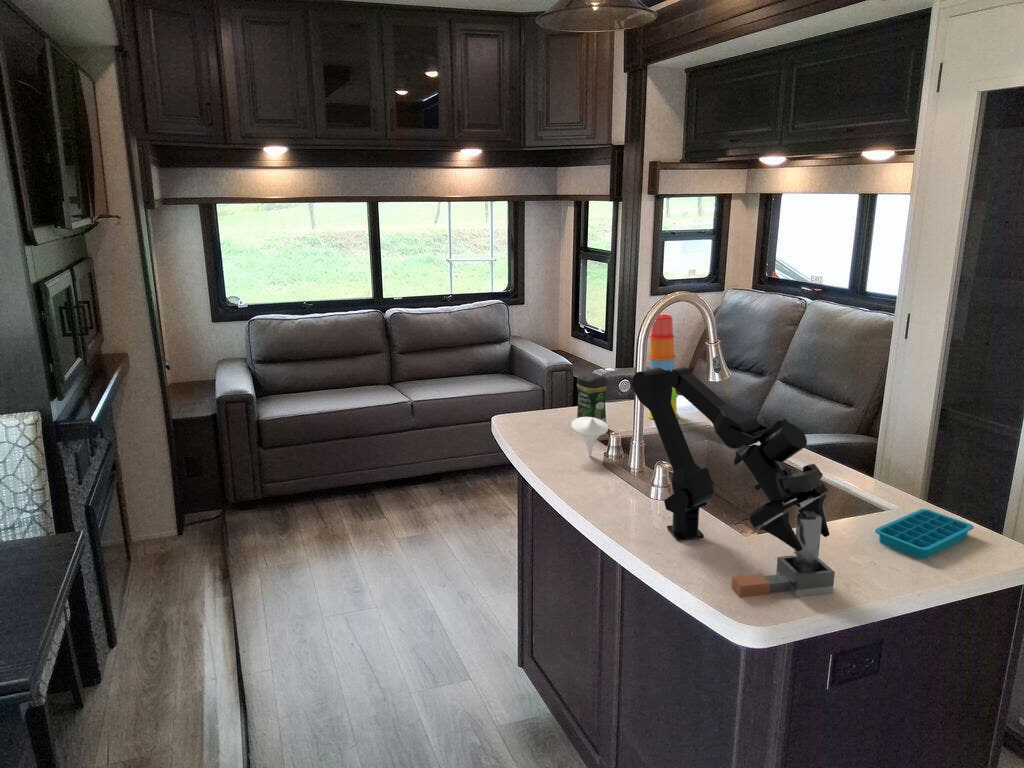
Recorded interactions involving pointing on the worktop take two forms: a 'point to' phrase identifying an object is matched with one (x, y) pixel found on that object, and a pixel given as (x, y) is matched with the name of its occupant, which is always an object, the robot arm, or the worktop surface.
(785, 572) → the saucepan
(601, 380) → the coffee jar
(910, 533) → the ice cube tray
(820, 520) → the cylinder with cube top
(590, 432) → the white spinning top
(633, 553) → the worktop surface
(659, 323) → the stacking cups
